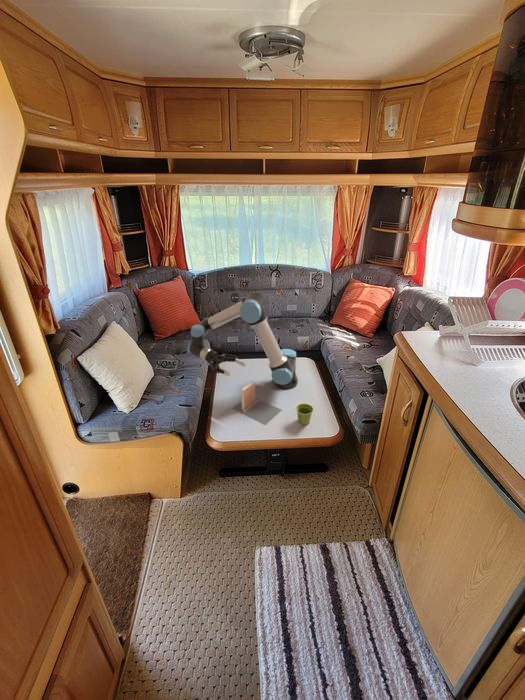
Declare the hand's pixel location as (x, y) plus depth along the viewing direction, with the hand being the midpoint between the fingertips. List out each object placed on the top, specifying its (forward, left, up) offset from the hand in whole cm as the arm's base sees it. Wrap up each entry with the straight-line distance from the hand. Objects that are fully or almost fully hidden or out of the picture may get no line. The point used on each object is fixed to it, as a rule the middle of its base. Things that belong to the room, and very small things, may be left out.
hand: (237, 369), depth 195 cm
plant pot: (-37, +18, -23) cm, 47 cm away
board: (-11, +9, -22) cm, 26 cm away
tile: (-6, +5, -21) cm, 23 cm away
